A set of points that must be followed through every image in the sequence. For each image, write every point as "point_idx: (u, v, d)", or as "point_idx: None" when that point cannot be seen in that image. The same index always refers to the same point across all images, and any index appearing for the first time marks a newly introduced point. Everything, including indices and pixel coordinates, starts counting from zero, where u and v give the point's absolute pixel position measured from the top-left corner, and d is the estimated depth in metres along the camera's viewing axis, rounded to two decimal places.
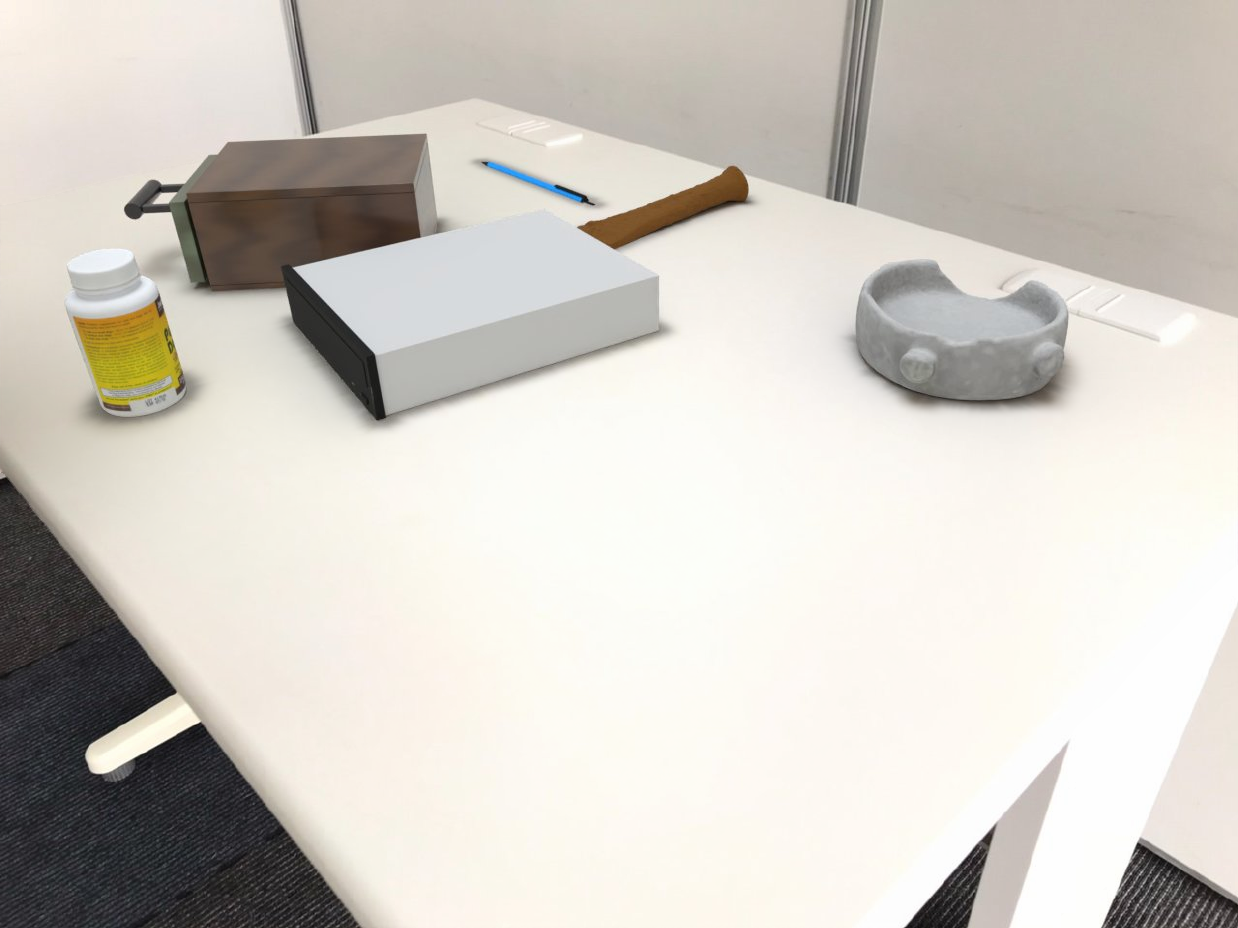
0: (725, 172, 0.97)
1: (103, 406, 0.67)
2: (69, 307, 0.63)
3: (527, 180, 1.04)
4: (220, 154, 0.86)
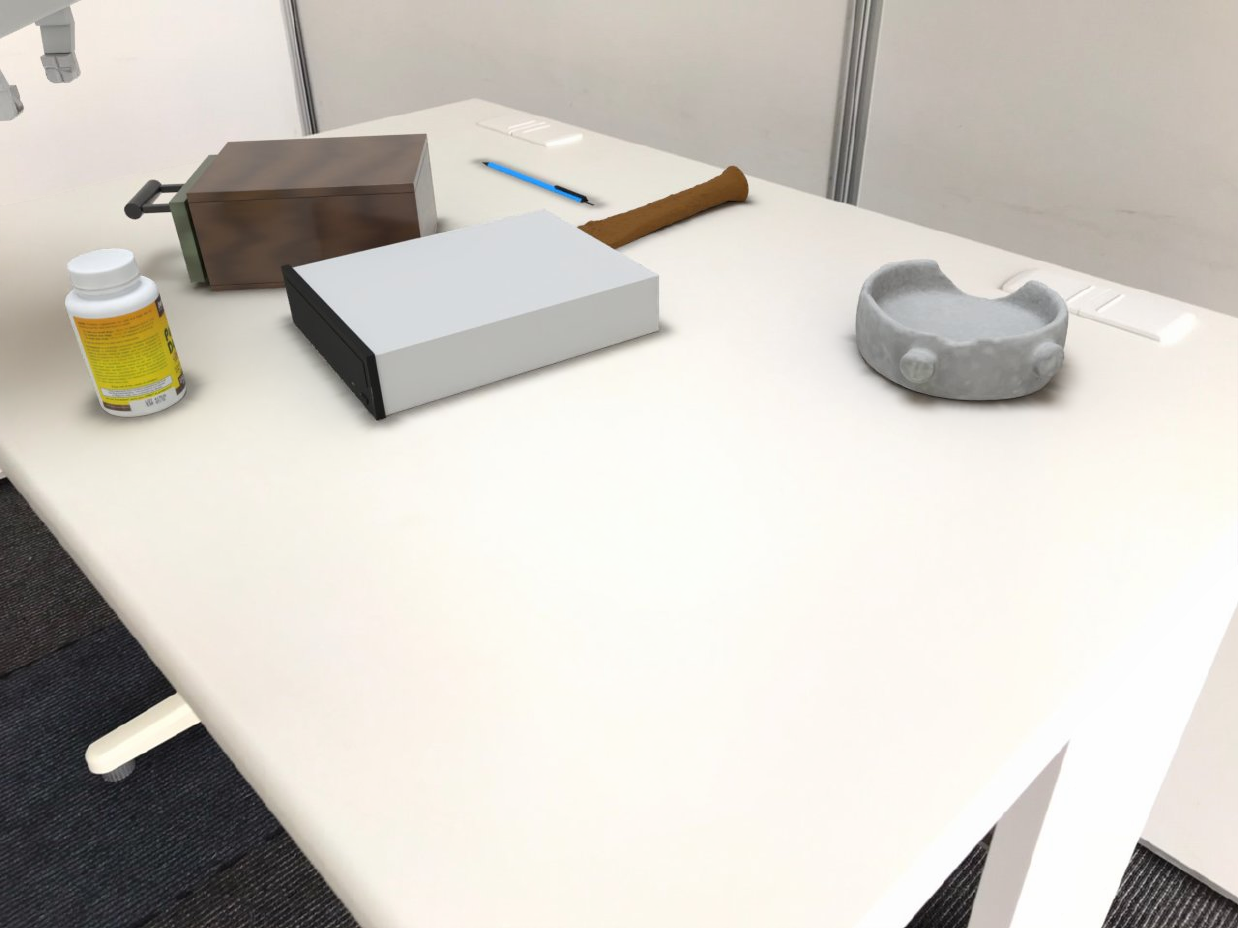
0: (725, 172, 0.97)
1: (103, 406, 0.67)
2: (69, 307, 0.63)
3: (527, 181, 1.04)
4: (220, 154, 0.86)
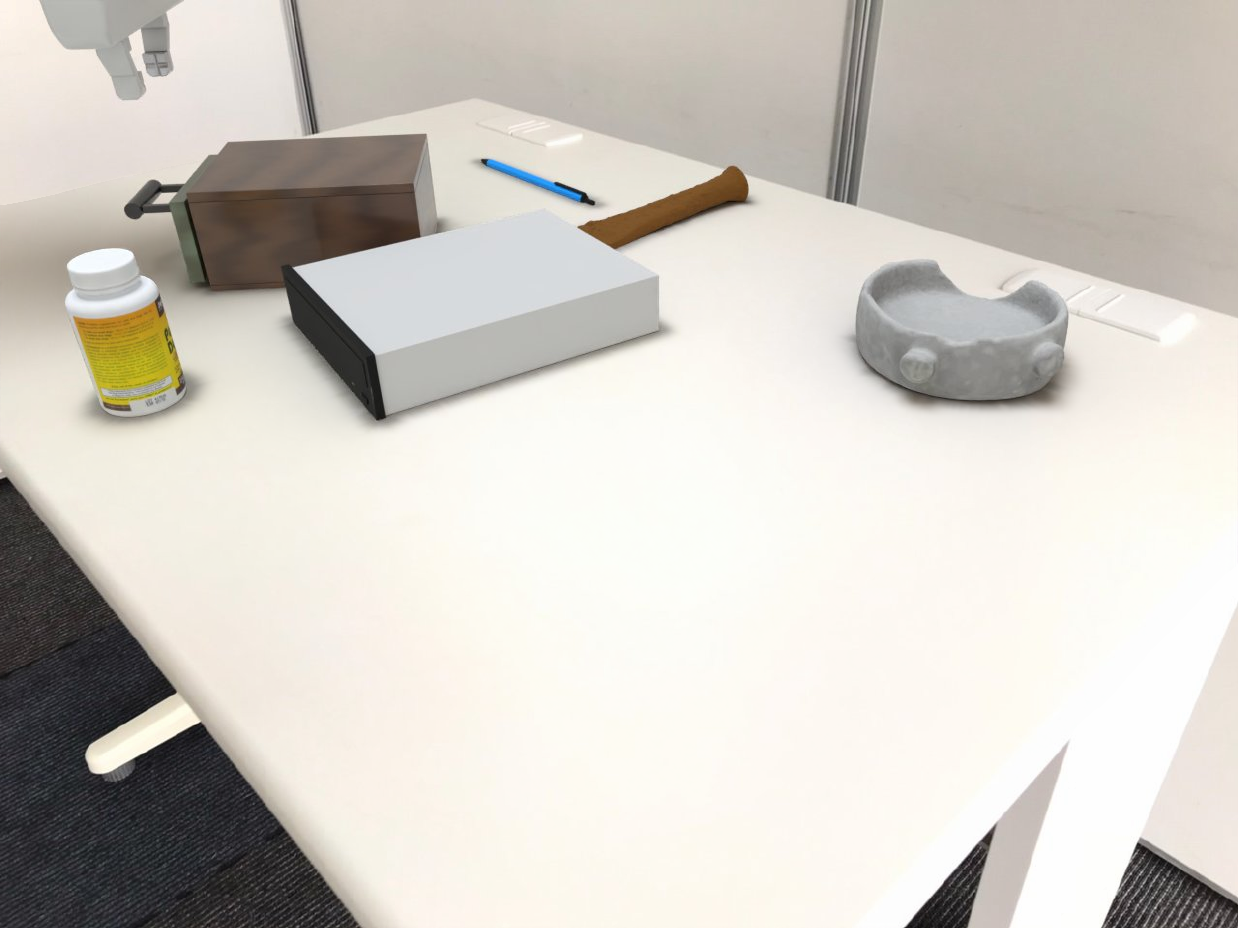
0: (725, 172, 0.97)
1: (103, 406, 0.67)
2: (69, 307, 0.63)
3: (527, 177, 1.04)
4: (220, 154, 0.86)
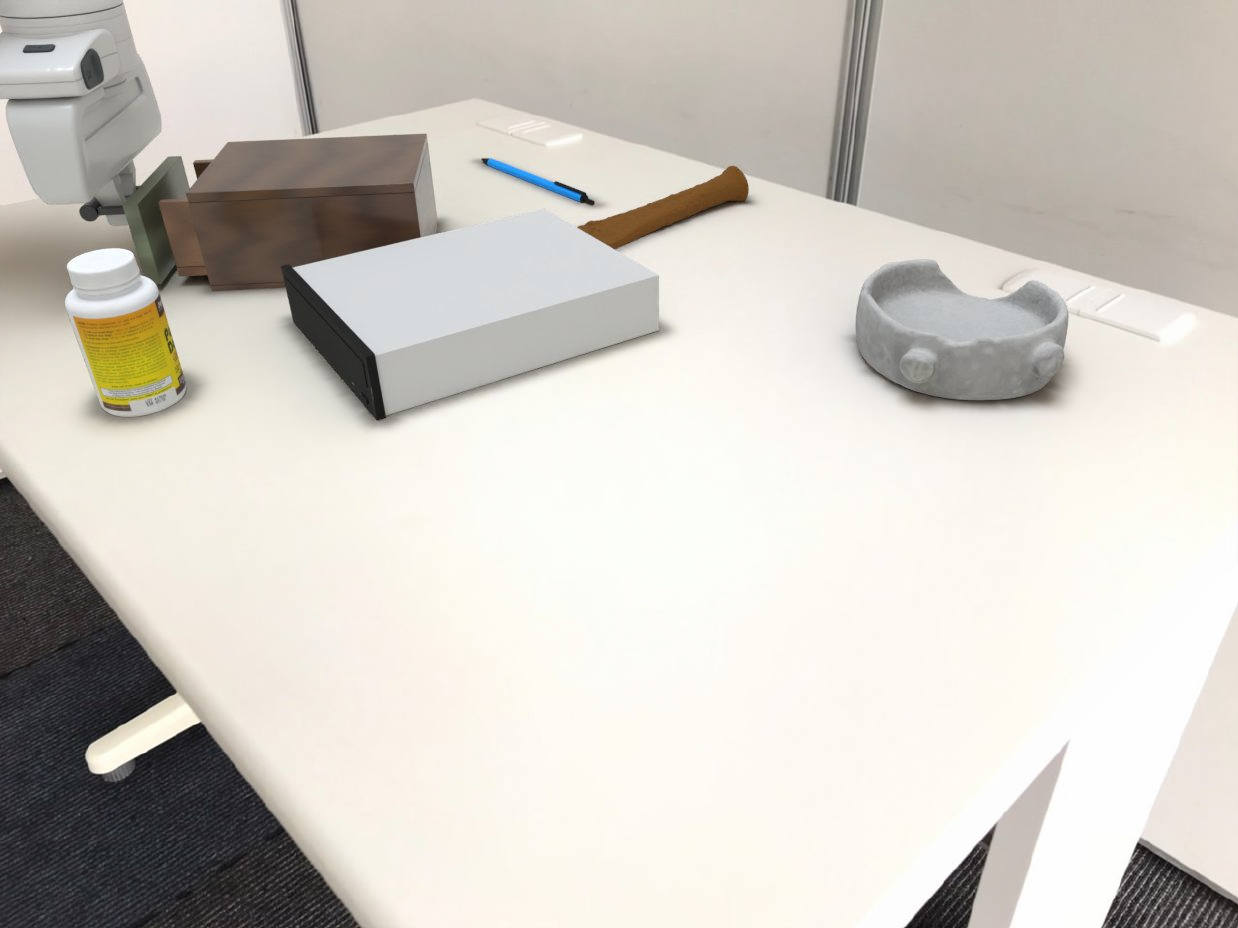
0: (725, 172, 0.97)
1: (103, 406, 0.67)
2: (69, 307, 0.63)
3: (527, 177, 1.04)
4: (220, 154, 0.86)
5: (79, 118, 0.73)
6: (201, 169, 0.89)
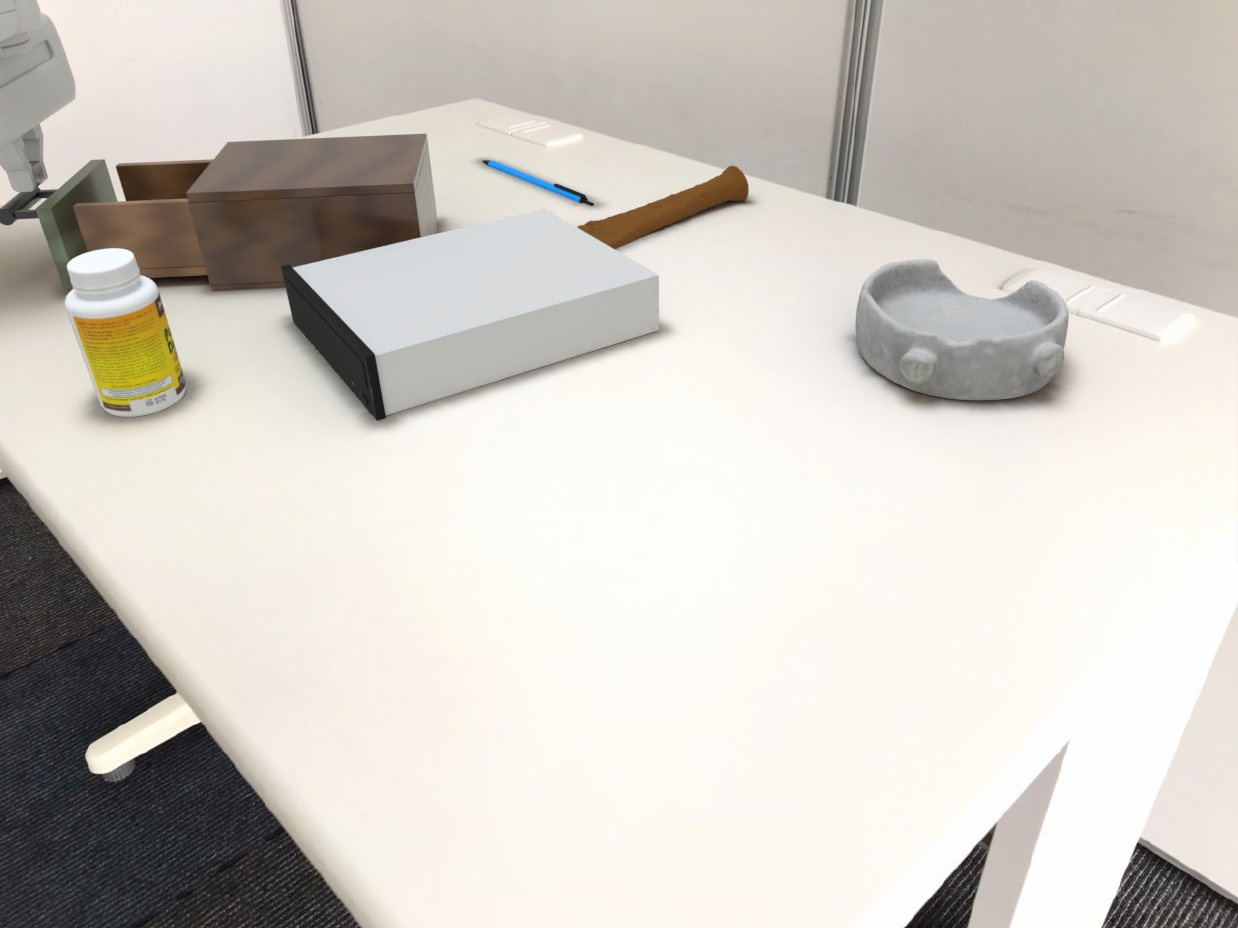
0: (725, 172, 0.97)
1: (103, 406, 0.67)
2: (69, 307, 0.63)
3: (527, 179, 1.04)
4: (220, 154, 0.86)
5: None
6: (124, 172, 0.88)
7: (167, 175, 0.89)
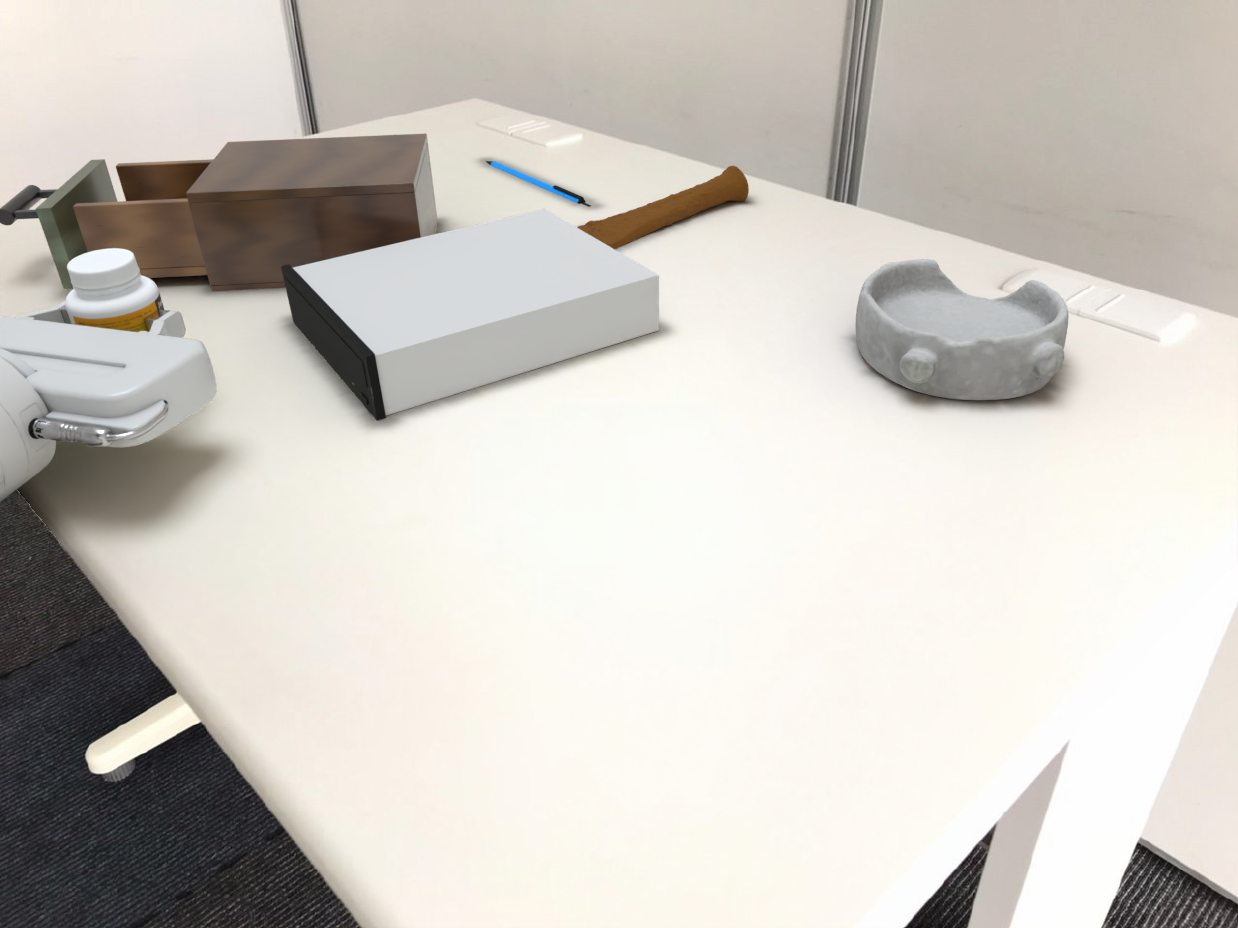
0: (725, 172, 0.97)
1: None
2: (69, 307, 0.63)
3: (527, 180, 1.04)
4: (220, 154, 0.86)
5: None
6: (124, 172, 0.88)
7: (167, 175, 0.89)
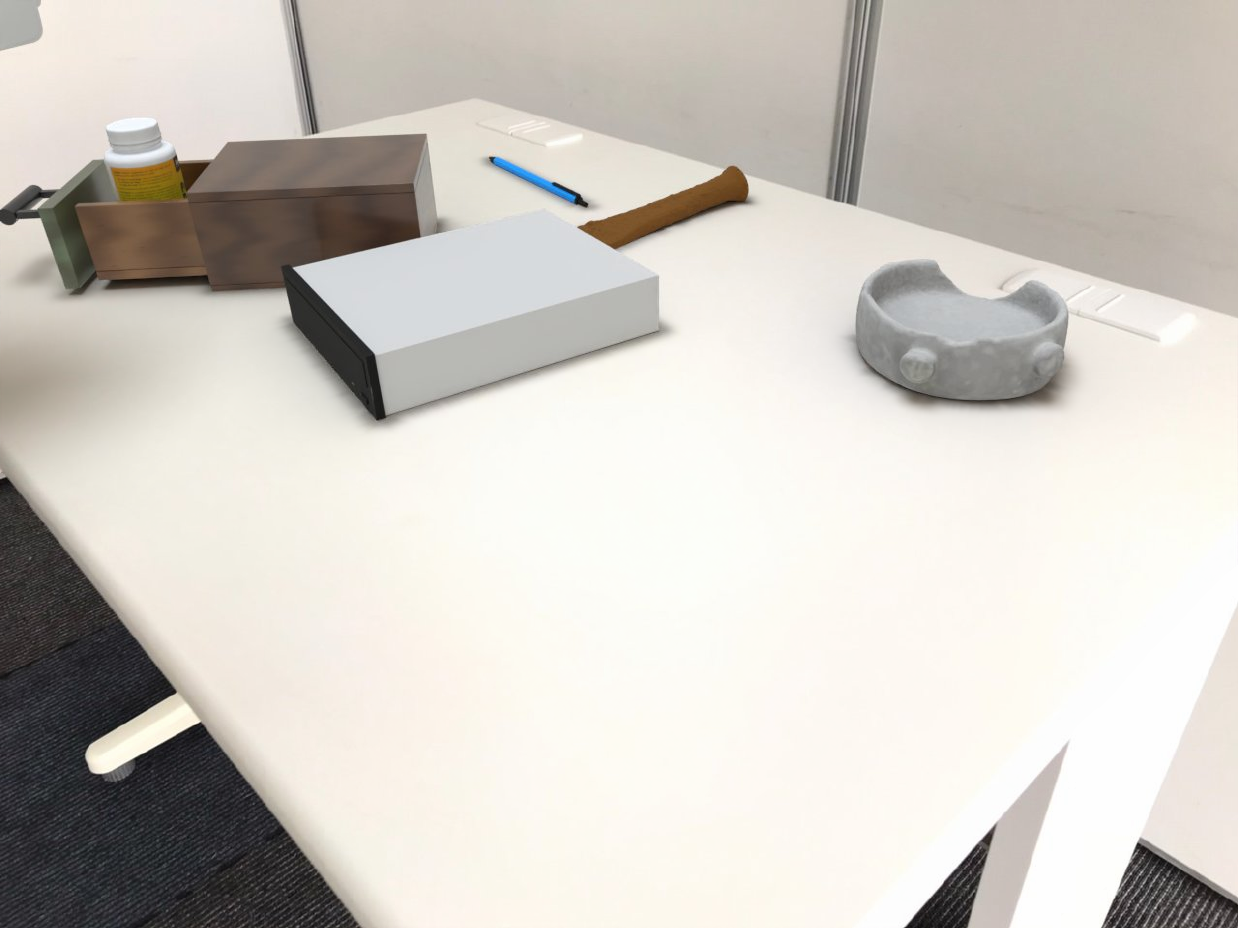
0: (725, 172, 0.97)
1: None
2: (107, 160, 0.81)
3: (528, 177, 1.04)
4: (220, 154, 0.86)
5: None
6: None
7: None
